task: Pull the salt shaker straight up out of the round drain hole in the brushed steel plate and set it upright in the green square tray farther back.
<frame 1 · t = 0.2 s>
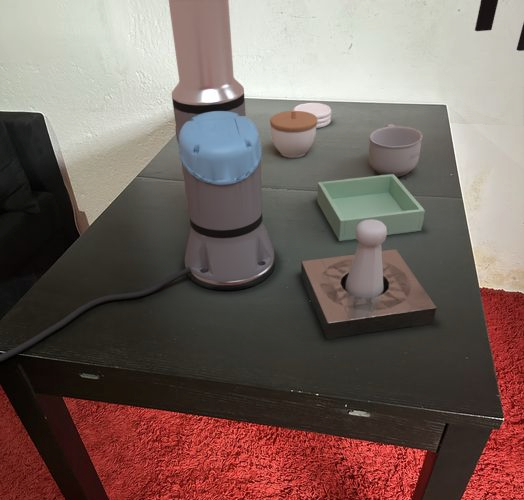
hand: (503, 39, 86), 28 cm above the table, tool pointing down, fingers open, 13 cm apart
salt shaker: (362, 299, 82), resting in drain plate
coaster: (311, 123, 138), on the table
drain plate: (362, 298, 82), on the table
teacup: (391, 169, 116), on the table
trinket box: (293, 153, 124), on the table
green square tray: (366, 215, 101), on the table
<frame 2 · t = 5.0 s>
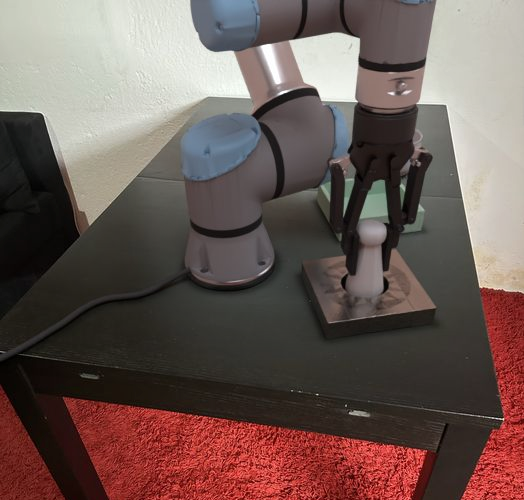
hand: (366, 268, 78), 6 cm above the table, tool pointing down, fingers closed on salt shaker, 4 cm apart
salt shaker: (362, 299, 82), resting in drain plate, touching gripper
everything else where it was.
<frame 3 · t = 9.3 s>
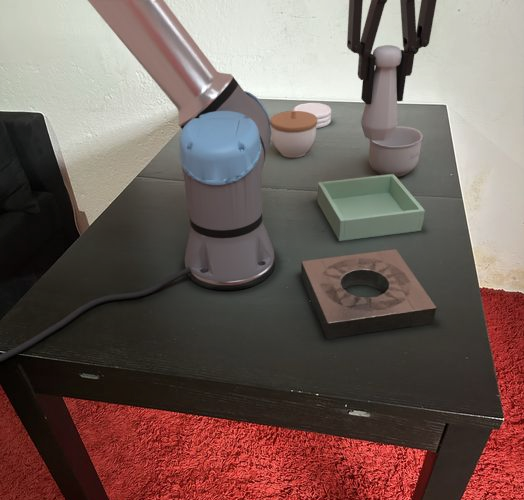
hand: (381, 99, 82), 23 cm above the table, tool pointing down, fingers closed on salt shaker, 4 cm apart
salt shaker: (377, 137, 86), point 17 cm above the table, touching gripper
everything else where it was.
when the fingers open (6 cm above the table, at t = 13.6 s): salt shaker stays where it is, resting on green square tray.
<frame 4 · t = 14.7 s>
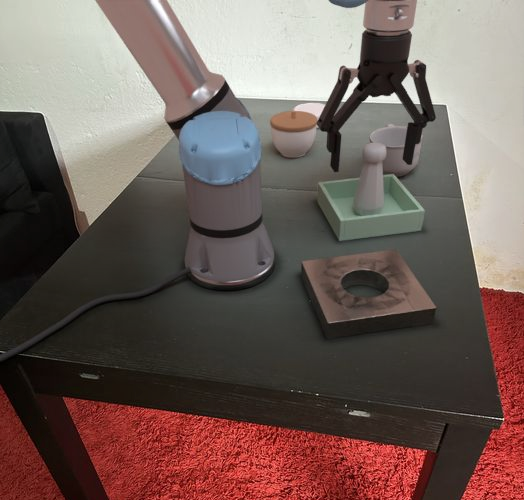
hand: (371, 165, 94), 10 cm above the table, tool pointing down, fingers open, 13 cm apart
salt shaker: (367, 213, 101), resting on green square tray
everything else where it was.
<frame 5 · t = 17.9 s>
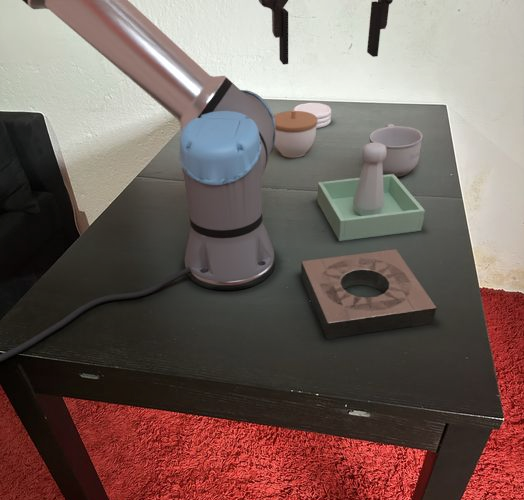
hand: (328, 58, 78), 29 cm above the table, tool pointing down, fingers open, 13 cm apart
nothing on the table moved.
at the end: salt shaker inside the target area in the green square tray (0.1 cm from its centre), point 0.4 cm above the green square tray's base; salt shaker tilted 0°; the gripper is holding nothing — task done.
